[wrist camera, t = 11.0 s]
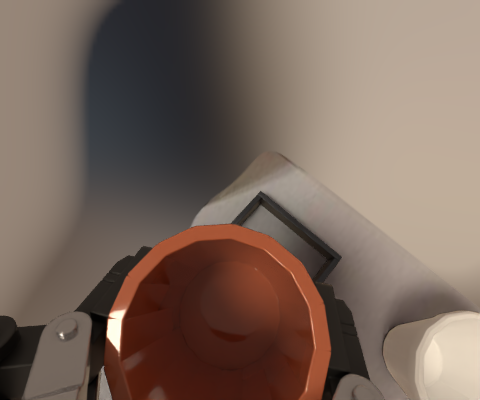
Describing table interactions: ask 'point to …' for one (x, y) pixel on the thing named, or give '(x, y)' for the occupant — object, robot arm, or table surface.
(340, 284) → the table surface
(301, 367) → the terracotta cup
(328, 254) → the dark grey square frame
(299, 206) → the table surface
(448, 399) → the cup
